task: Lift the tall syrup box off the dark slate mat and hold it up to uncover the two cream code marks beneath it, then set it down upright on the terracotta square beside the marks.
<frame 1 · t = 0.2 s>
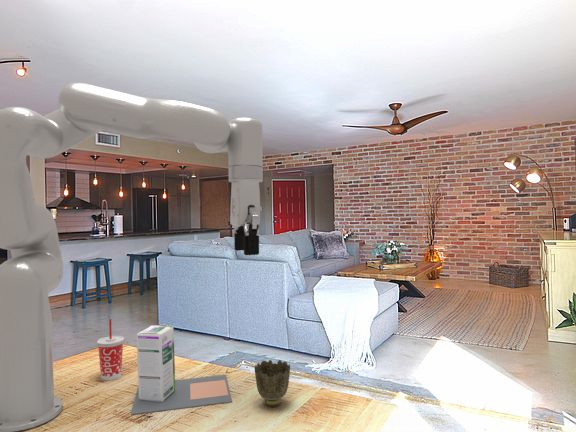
hand: (246, 252, 91), 31 cm above the table, tool pointing down, fingers open, 9 cm apart
cup: (272, 405, 85), on the table
code mat: (183, 393, 90), on the table
beverage cup: (111, 377, 99), on the table
syrup box: (157, 396, 89), resting on code mat
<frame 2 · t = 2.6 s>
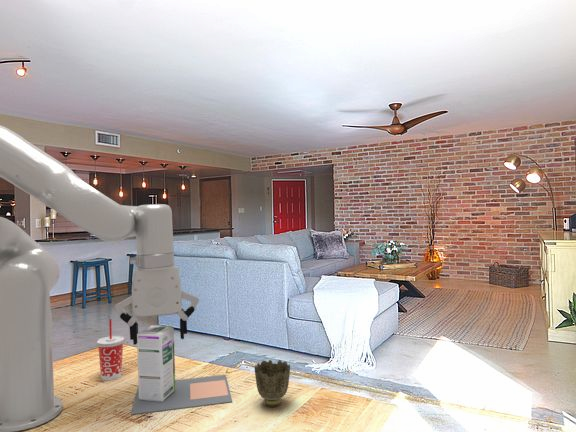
hand: (159, 339, 88), 12 cm above the table, tool pointing down, fingers open, 9 cm apart
nothing on the table moved.
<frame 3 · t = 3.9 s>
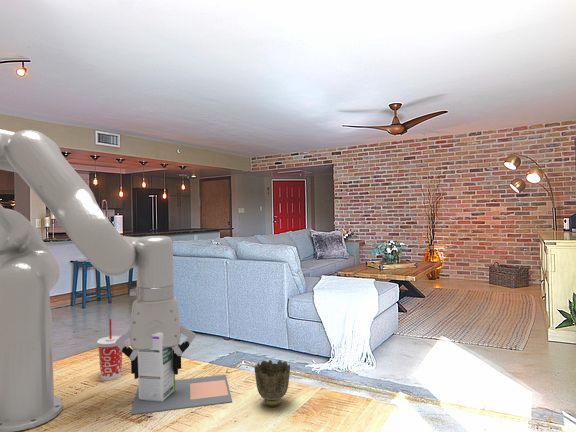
hand: (156, 373, 88), 5 cm above the table, tool pointing down, fingers closed on syrup box, 7 cm apart
syrup box: (157, 396, 89), resting on code mat, touching gripper
everything else where it was.
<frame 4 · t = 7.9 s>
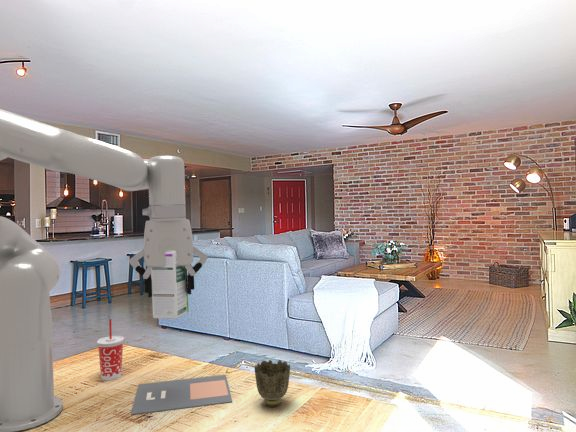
hand: (170, 294, 89), 22 cm above the table, tool pointing down, fingers closed on syrup box, 7 cm apart
syrup box: (170, 316, 89), point 17 cm above the table, touching gripper
everything else where it was.
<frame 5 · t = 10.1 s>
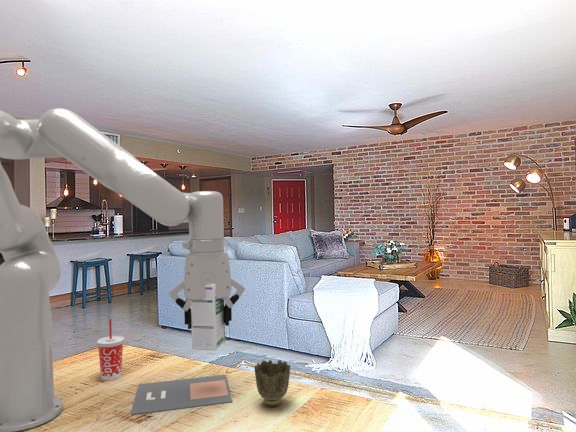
hand: (208, 325, 91), 15 cm above the table, tool pointing down, fingers closed on syrup box, 7 cm apart
syrup box: (208, 346, 91), point 10 cm above the table, touching gripper
everything else where it was.
when the fingers open (7 cm above the table, at t = 12.1 s): syrup box drops 2 cm, resting on code mat.
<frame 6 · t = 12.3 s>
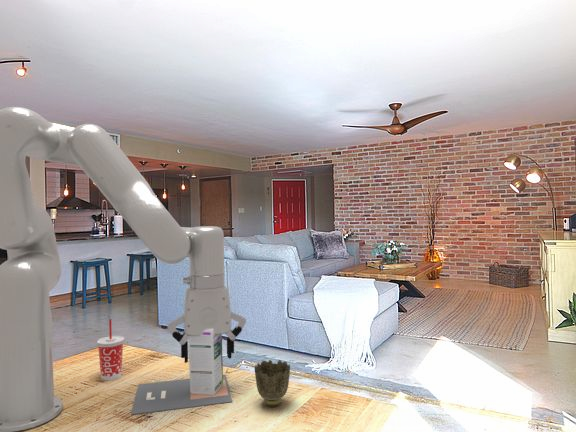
hand: (207, 358, 91), 7 cm above the table, tool pointing down, fingers open, 9 cm apart
syrup box: (206, 390, 91), resting on code mat
everything else where it was.
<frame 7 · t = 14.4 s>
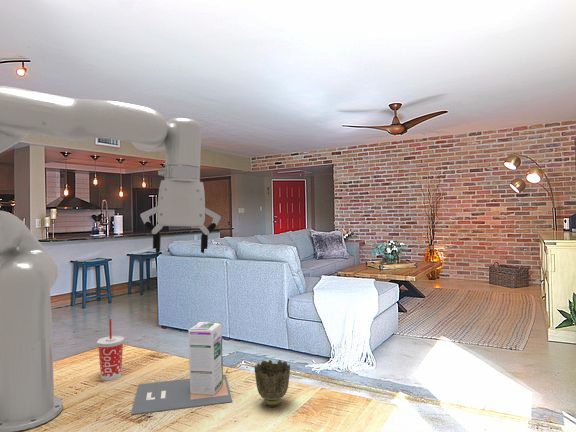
hand: (180, 252, 91), 31 cm above the table, tool pointing down, fingers open, 9 cm apart
nothing on the table moved.
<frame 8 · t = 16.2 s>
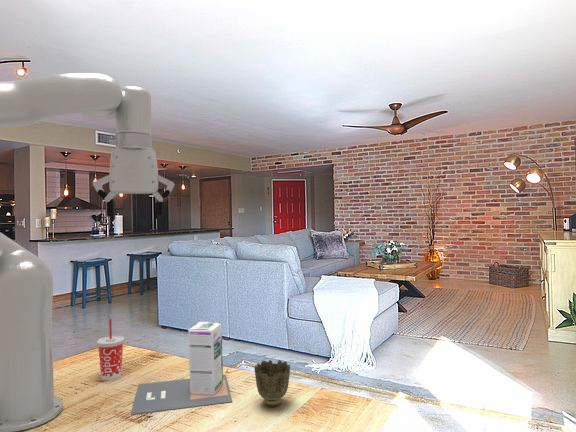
hand: (135, 219, 92), 38 cm above the table, tool pointing down, fingers open, 9 cm apart
nothing on the table moved.
at the end: syrup box 0.4 cm from the target spot on the code mat, point 0.0 cm above the code mat's base; syrup box tilted 0°; the gripper is holding nothing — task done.
